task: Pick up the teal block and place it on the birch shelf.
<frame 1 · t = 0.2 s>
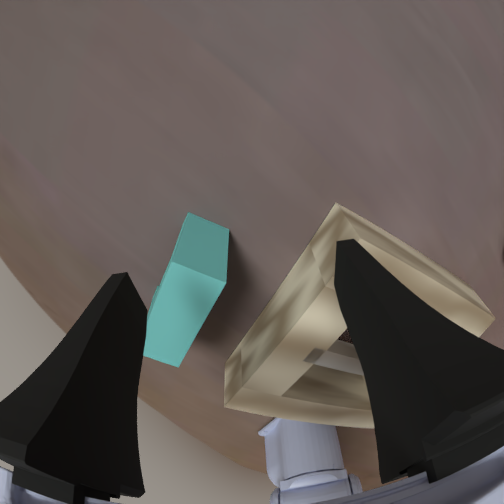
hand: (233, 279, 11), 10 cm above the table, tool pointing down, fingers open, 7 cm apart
teal block: (187, 265, 23), on the table
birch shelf: (356, 328, 27), on the table
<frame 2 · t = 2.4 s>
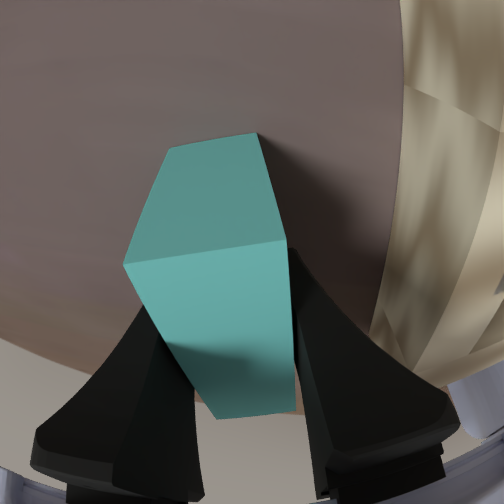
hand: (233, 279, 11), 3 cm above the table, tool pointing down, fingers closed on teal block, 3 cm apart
teal block: (231, 233, 13), on the table, touching gripper
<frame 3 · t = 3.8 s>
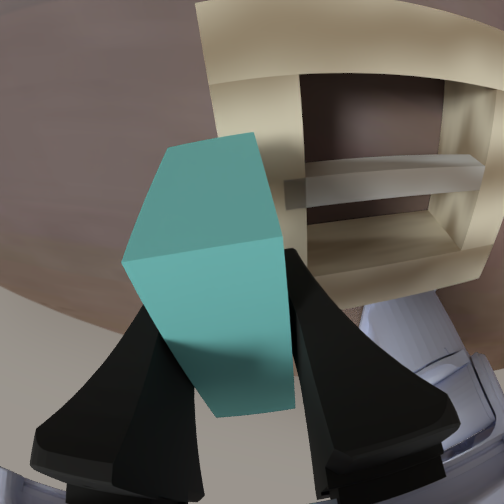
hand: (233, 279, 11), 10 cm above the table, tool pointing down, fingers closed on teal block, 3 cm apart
teal block: (230, 232, 13), point 7 cm above the table, touching gripper
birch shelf: (371, 146, 18), on the table
when the fingers open (5 cm above the table, at t = 5.6 s): teal block stays where it is, resting on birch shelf.
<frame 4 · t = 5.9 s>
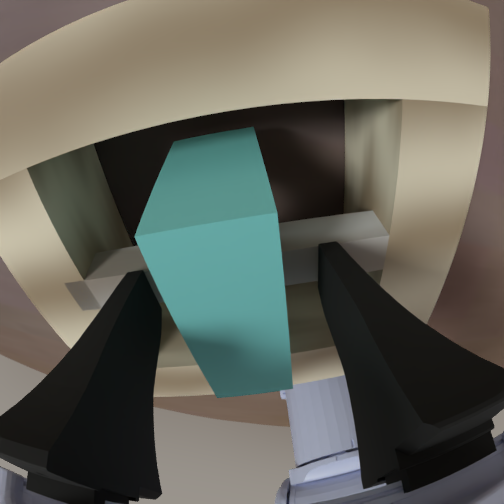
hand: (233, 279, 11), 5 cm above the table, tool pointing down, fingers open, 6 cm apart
teal block: (231, 221, 13), point 1 cm above the table, touching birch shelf
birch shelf: (230, 202, 14), on the table
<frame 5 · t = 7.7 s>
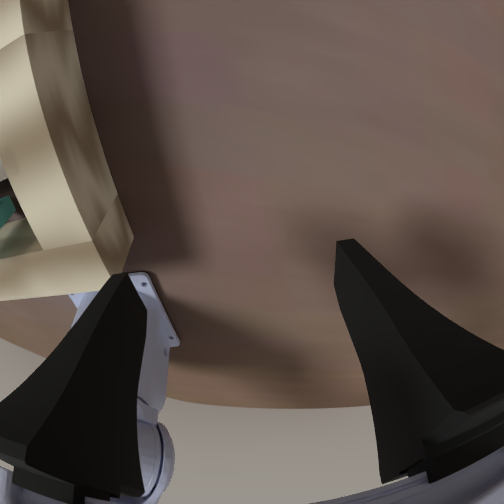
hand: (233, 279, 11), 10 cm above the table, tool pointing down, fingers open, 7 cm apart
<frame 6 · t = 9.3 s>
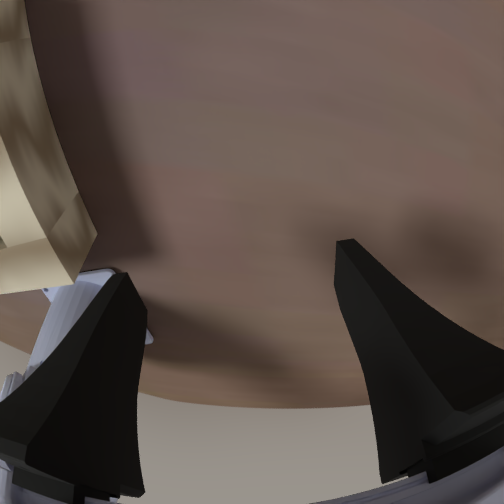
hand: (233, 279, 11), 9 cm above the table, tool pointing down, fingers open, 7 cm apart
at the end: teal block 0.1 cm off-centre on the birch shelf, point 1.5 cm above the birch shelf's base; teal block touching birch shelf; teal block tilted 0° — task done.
